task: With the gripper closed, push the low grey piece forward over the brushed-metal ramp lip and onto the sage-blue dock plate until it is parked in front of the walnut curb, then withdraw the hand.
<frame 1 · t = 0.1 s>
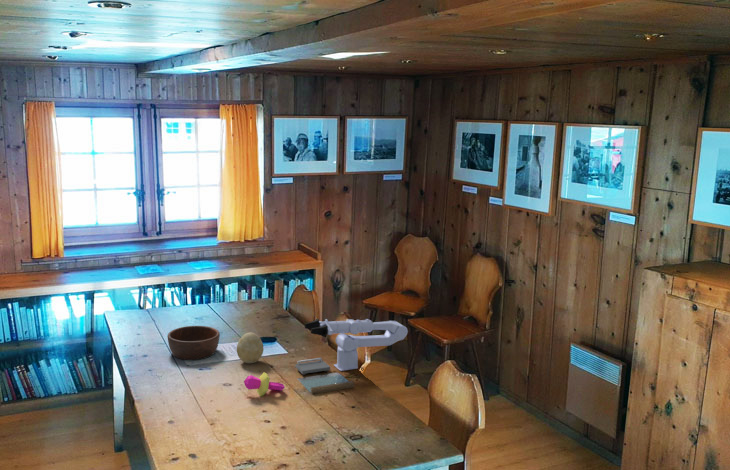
hand: (308, 328, 313), 22 cm above the table, tool horizontal, fingers open, 7 cm apart
dock bay: (326, 384, 305), on the table
fossilized egg: (250, 362, 327), on the table
grey piece: (312, 371, 319), on the table
wooden bowl: (194, 353, 337), on the table
toy: (263, 394, 292), on the table
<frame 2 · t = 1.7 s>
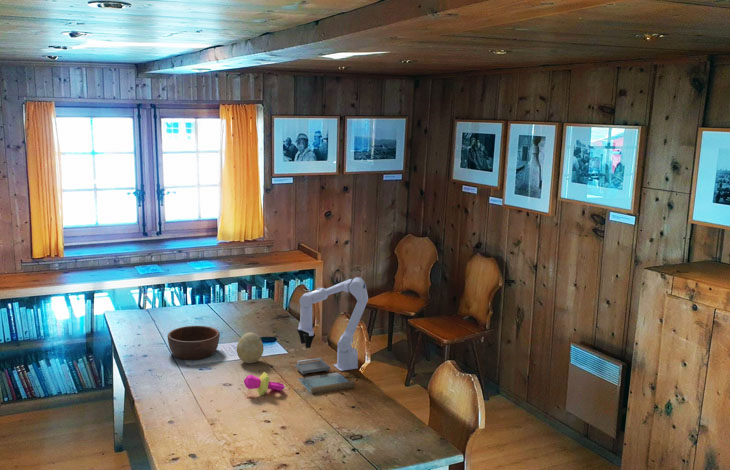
hand: (305, 345, 326), 9 cm above the table, tool pointing down, fingers open, 6 cm apart
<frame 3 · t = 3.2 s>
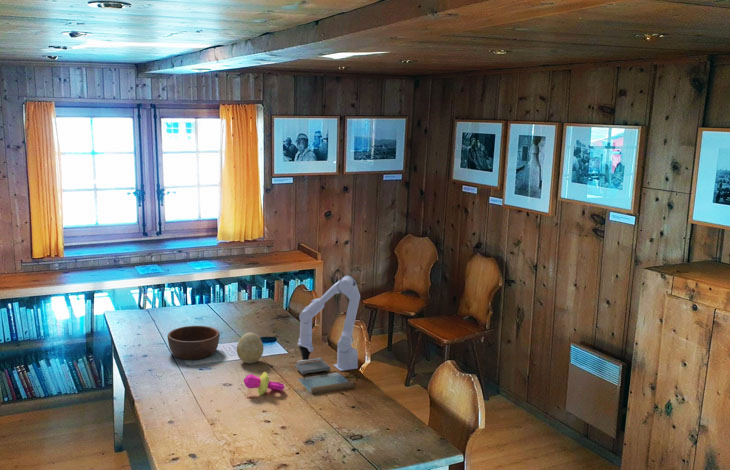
hand: (305, 360, 327), 2 cm above the table, tool pointing down, fingers closed
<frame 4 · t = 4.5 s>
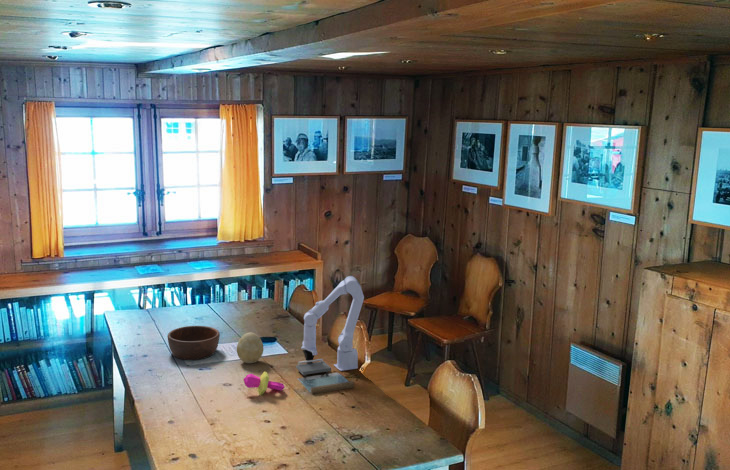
hand: (309, 364, 323), 2 cm above the table, tool pointing down, fingers closed
grey piece: (313, 372, 318), on the table, touching gripper
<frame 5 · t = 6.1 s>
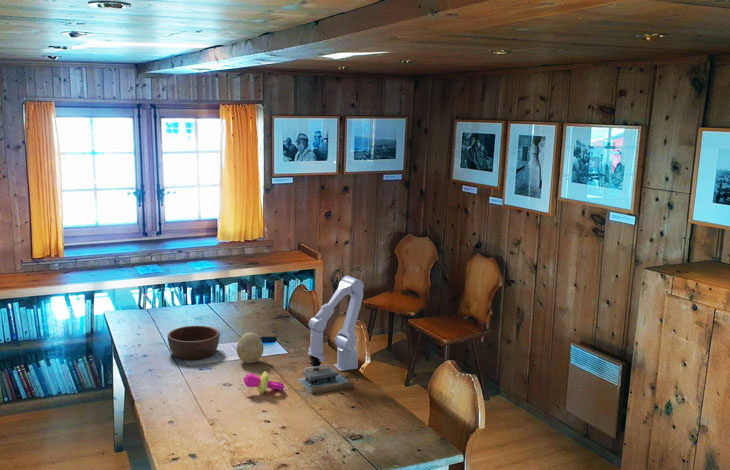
hand: (315, 371, 315), 2 cm above the table, tool pointing down, fingers closed
grey piece: (320, 378, 310), point 1 cm above the table, tilted 5°, touching dock bay, gripper
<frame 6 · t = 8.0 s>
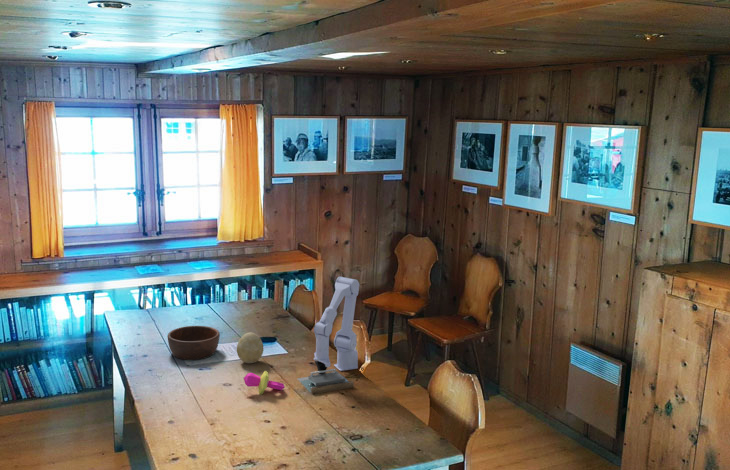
hand: (321, 376, 309), 2 cm above the table, tool pointing down, fingers closed
grey piece: (326, 383, 304), point 1 cm above the table, touching dock bay, gripper
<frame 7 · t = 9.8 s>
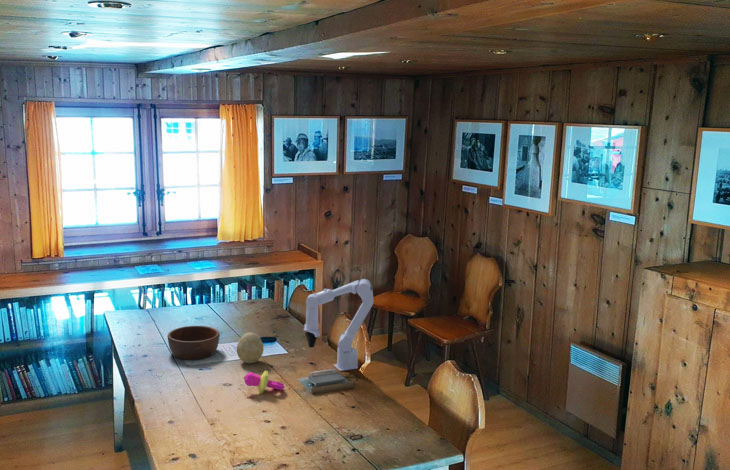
hand: (311, 346, 324), 9 cm above the table, tool pointing down, fingers closed
grey piece: (326, 383, 304), point 1 cm above the table, touching dock bay
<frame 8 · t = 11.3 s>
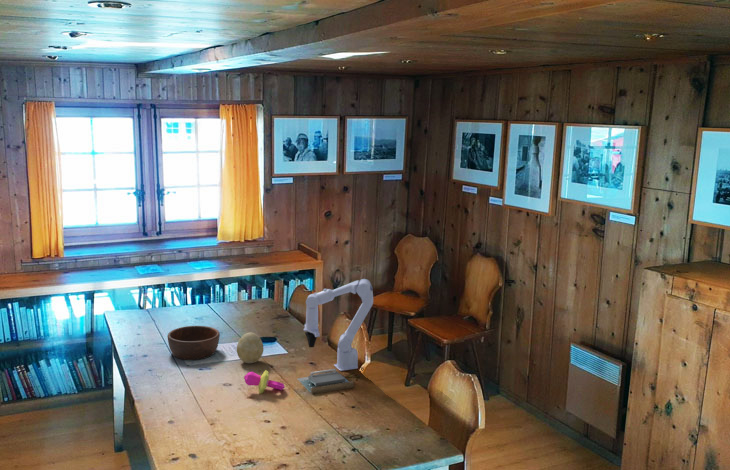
hand: (311, 346, 324), 9 cm above the table, tool pointing down, fingers closed
at the end: grey piece inside the target area (0.3 cm from its centre), point 0.8 cm above the table; grey piece touching dock bay; grey piece tilted 0° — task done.
